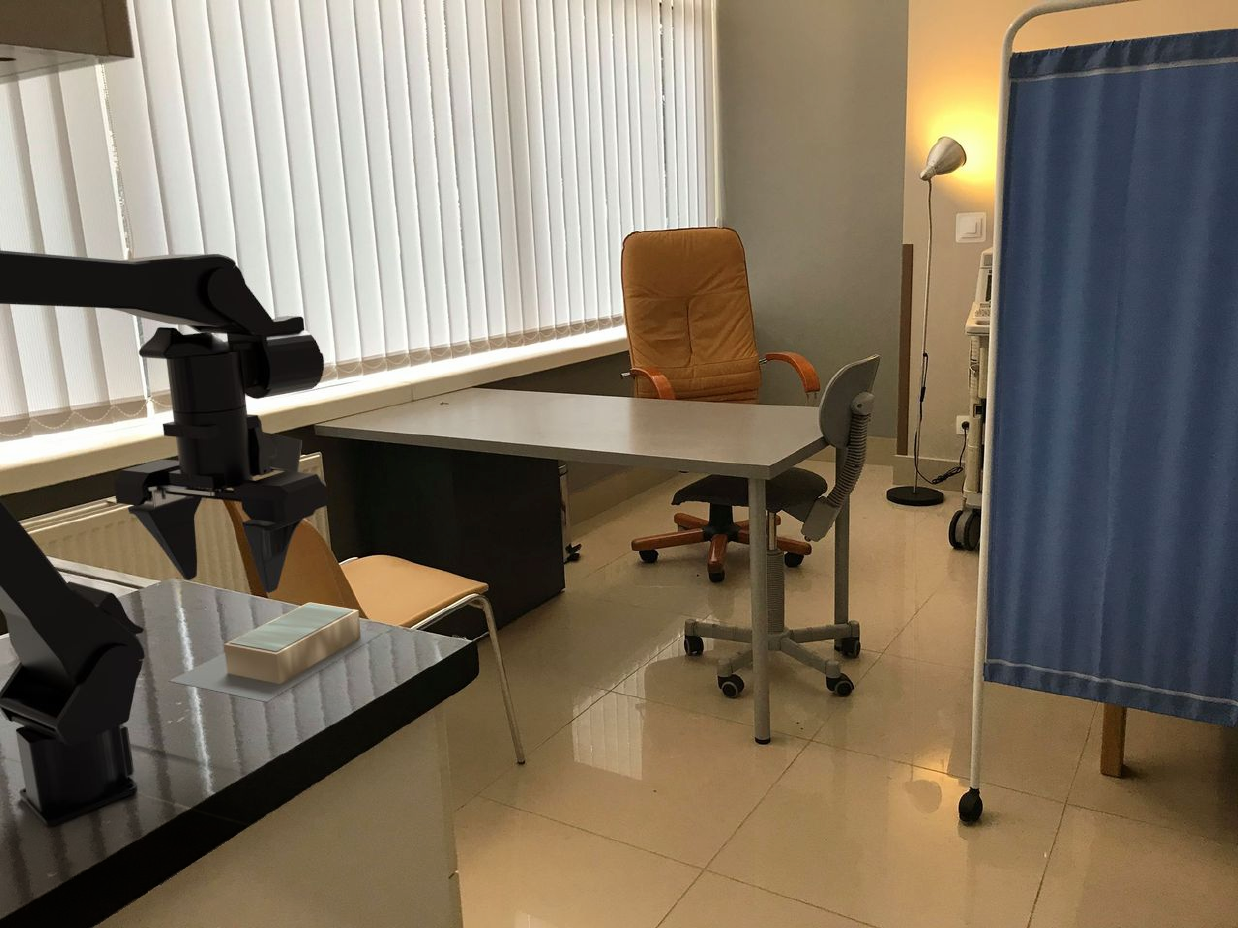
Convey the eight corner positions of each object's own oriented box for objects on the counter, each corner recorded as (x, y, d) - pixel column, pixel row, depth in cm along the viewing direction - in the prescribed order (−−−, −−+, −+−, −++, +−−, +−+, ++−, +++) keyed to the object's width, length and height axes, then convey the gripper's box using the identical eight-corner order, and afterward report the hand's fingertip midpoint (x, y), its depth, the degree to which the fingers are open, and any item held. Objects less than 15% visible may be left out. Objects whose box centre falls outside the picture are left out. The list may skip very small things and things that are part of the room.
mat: (267, 705, 91) (266, 701, 90) (169, 684, 95) (169, 680, 95) (382, 636, 106) (382, 633, 106) (293, 621, 110) (292, 618, 110)
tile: (276, 653, 93) (358, 609, 104) (223, 643, 96) (309, 601, 107) (279, 683, 94) (360, 637, 105) (227, 673, 97) (311, 628, 107)
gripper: (361, 397, 87) (375, 568, 90) (201, 388, 94) (219, 547, 98) (270, 419, 77) (289, 610, 80) (98, 408, 84) (123, 583, 88)
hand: (230, 584), depth 87 cm, fingers open, 9 cm apart
